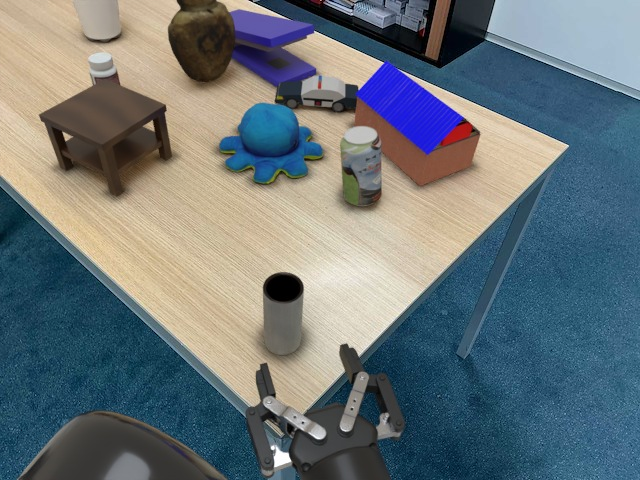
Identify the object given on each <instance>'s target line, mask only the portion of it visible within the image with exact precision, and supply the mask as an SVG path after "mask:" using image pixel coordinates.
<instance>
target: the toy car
mask: <svg viewBox="0 0 640 480" xmlns="http://www.w3.org/2000/svg"><path fill="white" fill-rule="evenodd" d="M359 90H360V89H359V85H358V84H351V83H345V82H344V81H343V80H342V79H340V78H339V77H335V76H330V75H321V74H319V75H313V76H310V77H308V78H306V79H304V80H300V81H288V82H280V84H279V86H277V87H276V90H275V95H274V96H275V97H274V103H275V104H277V105H285V106H286V107H288V108H290V109H291V110H294V109H297V108H298V106H309V107H322V108H324V107H325V108H331V109H332V111H334V112H335V113H341V112H342V111H344V109H356V105H357V97H358V96H357V95H355V94H356V93H357V92H358V91H359Z"/></svg>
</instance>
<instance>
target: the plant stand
mask: <svg viewBox="0 0 640 480" xmlns="http://www.w3.org/2000/svg"><path fill="white" fill-rule="evenodd" d="M167 111H168V109H167V104H166V103H163V102H161V101H158V100H156V99H153V98H152V97H149V96H147V95H145V94H142V93H139V92H137V91H135V90H132V89H130V88H128V87H126V86H123V85H121V84H120V85H118V84H116V83H113V82H111V81H109V80H106V79H104V80H102V81H100V82H99V83H97V84H95V85H93V84H92V85H90V86H89V87H87V88H86V89H84V90H82V91H80V92H78V93H76V94H75V95H73V96H71V97H69V98H67V99H65V100H63V101H61V102H60V103H57V104H55V105H54V106H52V107H50V108H49V109H46V110H45V111H43V112H41V113H39V114H38V117H39V120H40V122H42V123H44V126H45V129H46V132H47V134H48V137H49V140H50V143H51V146H52V148H53V151H54V155H55V157H56V160H57V163H58V165H59V168H60V169H62V170H64V171H65V172H66V171H69V170H71V169H72V168H74V166H75V165H74V163H73V161H74V162H76V163H77V164H79V165H81V166H84V167H85V168H88V169H90V170H92V171H93V172H96V173H97V174H99V175H102V176H103V177H105V180H106V184H107V187H108V191H109V194H110V195H112V196H114V197H119V196H121V194H123V193H124V192H125V191H124V187H123V183H122V179H121V175H123V174H124V173H125V172H127V171H129V170H130V169H131V168H132V167H134V166H135V165H137V164H138V163H140V162H142V161H143V160H144V159H145V158H147V157H149V156H150V155H151V154H153V153H154V152H155V151H158V156H159V158H160V159H161V160H164V161H167V162H168V160H170V159H172V157H173V153H172V152H173V151H172V147H171V141H170V135H169V130H168V123H167V118H166V112H167ZM151 122H152V124H153V129H154V130H152V129H150V128H147V127H145V126H146V125H147V124H149V123H151ZM64 134H67V135H69V136H71V137H70V138H69V139H67V140H66V139H65V136H64Z"/></svg>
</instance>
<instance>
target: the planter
mask: <svg viewBox="0 0 640 480" xmlns="http://www.w3.org/2000/svg"><path fill="white" fill-rule="evenodd" d="M304 294H305V286H304V282H303V281H302V279H301V278H300V277H299V276H298V275H296V274H294V273H292V272H289V271H279V272H275V273H273V274H271V275H268V277H266V279H265V280H264V281H263V283H262V308H263V309H262V310H263V311H262V315H263V316H262V317H263V341H264V346H265V347H266V348H267V350H268V351H269V352H271V353H272V354H275V355H278V356H287V355H291V354H294V352H296V351H297V350H298V348H299V347H300V345H301V342H302V333H303V331H302V329H303V312H304V296H305V295H304Z"/></svg>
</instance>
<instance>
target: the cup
mask: <svg viewBox="0 0 640 480" xmlns="http://www.w3.org/2000/svg"><path fill="white" fill-rule="evenodd" d="M71 1H72V4H73V7H74V10H75V13H76V15H77V18H78V21H79V24H80V26H81V28H82V31H83V34H84V35H85V37H86V38H87V39H88V40H89V41H90V42H95V41H101V42H102V43H108V42H109V41H110V40H112V39H113V38H114V39H118V38H120V36H121V32H122V27H121V18H120V17H121V16H120V6H119V0H71Z"/></svg>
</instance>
